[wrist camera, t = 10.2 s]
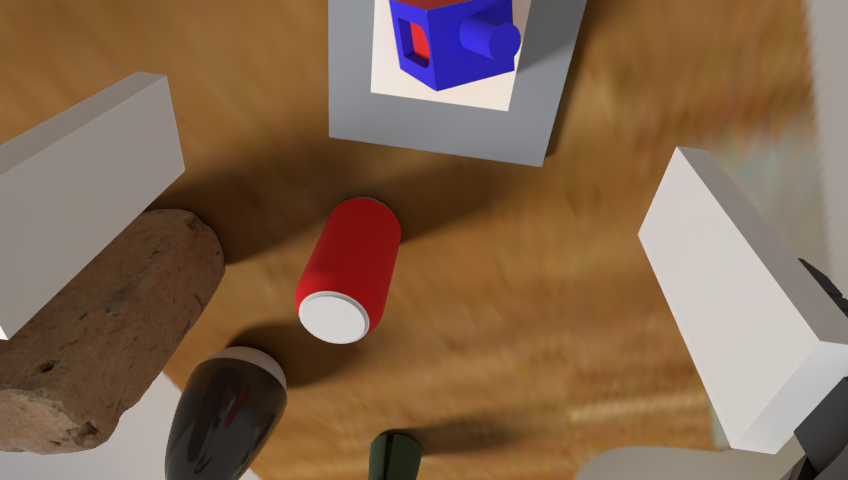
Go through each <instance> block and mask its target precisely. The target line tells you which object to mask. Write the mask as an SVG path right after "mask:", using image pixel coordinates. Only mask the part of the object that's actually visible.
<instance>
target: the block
mask: <svg viewBox="0 0 848 480" xmlns="http://www.w3.org/2000/svg"><path fill="white" fill-rule="evenodd" d="M224 273H225V262H224V257H223V251H222V248H221V245H220V242H219V240H218V238H217V236H216V234H215V232H214V231H213V230H212V228H211V227H209V226H207V225H205V224H204V223H203V222H202V221H201V220H199V219H198V217H197V216H196V215H195V214H193V213H192V212H189V211H186V210H181V209H158V210H152V211H148V212H144V213H141V214H139V215H138V216H137V217H136V218H135V219H134V220H133V221H132V222H131V223H130V224H129V225H128V226H127V227H126V228H125V229H124V230H123V231H122V232H120V233H119V234H118V235H117V236H116V237H115V238H114V239H113V240H112V241H111V242H110V243H109V244H108V245H107V246H106V247H105V248H104V249H103V250H102V251H101V252H100V253H99V254H98V255H96V256H95V257H94V258H93V259H92V260H91V261H90V262H89V263H88V264H87V265H86V266H85V267H84V268H83V269H82V270H81V271H80V272H79V273H78V274H77V275H76V276H75V277H74V278H73V279H71V280H70V281H69V282H68V283H67V284H66V285H65V286H64V287H63V288H62V289H61V290H60V291H59V292H58V293H57V294H56V295H55V296H54V297H53V298H52V299H51V300H50V301H49V302H47V303H46V304H45V305H44V306H43V307H42V308H41V309H40V310H39V311H38V312H37V313H36V314H35V315H34V316H33V317H32V318H31V319H30V320H29V321H28V322H27V323H26V324H25V325H23V326H22V327H21V328H20V329H19V330H18V331H17V332H16V333H15V334H14V335H13V336H12V337H11V338H10V339H9V340H4V339H0V451H5V452H25V451H28V452H32V453H36V454H41V455H46V454H59V453H71V452H79V451H84V450H88V449H93V448H96V447H97V446H99V445H101V444H103V443H104V442H106V441H107V440H108V439H109V437H110V436H111V435H112V433H113V432H114V430H115V428H116V426H117V424H118V422H119V418H120V416H121V415H122V414H123V412H124V411H126V410H128V409H129V408H131V407H132V406H134V405H135V404H136V403H137V402H138V401H139V400H140V399H141V397H142V396H143V394H144V393H145V392H146V390H147V389H148V388H149V387H150V385H151V384H152V382H153V381H154V380H155V379H156V377H157V376H158V375H159V374H160V372H161V371H162V369H163V368H164V367H165V365H166V364H167V362H168V361H169V359H170V358H171V357H172V355H173V354H174V352H175V351H176V349H177V348H178V346H179V345H180V343H181V342H182V340H183V338H184V336H185V335H186V334H187V333H188V331H189V330H190V329H191V328H192V327H193V326H194V324H195V323H196V321H197V320H198V318H199V317H200V315H201V314H202V312H203V311H204V309H205V308H206V306H207V304H208V303H209V301H210V300H211V298H212V296H213V295H214V293H215V291H216V289H217V287H218V286H219V284H220V281H221V279H222V277H223V275H224Z"/></svg>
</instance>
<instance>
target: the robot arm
mask: <svg viewBox="0 0 848 480" xmlns="http://www.w3.org/2000/svg"><path fill="white" fill-rule="evenodd" d="M184 171H185V167H184V162H183V157H182V152H181V147H180V141H179V136H178V131H177V126H176V121H175V116H174V111H173V106H172V101H171V96H170V91H169V85H168V80H167V75H160V74H153V73H146V72H138V71H137V72H135V73H133V74H131V75H130V76H128V77H126V78H124V79H122V80H120V81H119V82H117V83H115V84H113V85H111V86H109V87H107V88H106V89H104V90H102V91H100V92H98V93H96V94H94V95H93V96H91V97H89V98H87V99H85V100H83V101H82V102H80V103H78V104H76V105H74V106H72V107H70V108H69V109H67V110H65V111H63V112H61V113H59V114H57V115H56V116H54V117H52V118H50V119H48V120H46V121H44V122H43V123H41V124H39V125H37V126H35V127H33V128H32V129H30V130H28V131H26V132H24V133H22V134H20V135H19V136H17V137H15V138H13V139H11V140H9V141H7V142H6V143H4V144H2V145H0V339H4V340H9V339H10V338H11V337H12V336H13V335H14V334H15V333H16V332H17V331H18V330H19V329H20V328H21V327H22V326H23V325H25V324H26V323H27V322H28V321H29V320H30V319H31V318H32V317H33V316H34V315H35V314H36V313H37V312H38V311H39V310H40V309H41V308H42V307H43V306H44V305H45V304H46V303H47V302H49V301H50V300H51V299H52V298H53V297H54V296H55V295H56V294H57V293H58V292H59V291H60V290H61V289H62V288H63V287H64V286H65V285H66V284H67V283H68V282H69V281H70V280H71V279H73V278H74V277H75V276H76V275H77V274H78V273H79V272H80V271H81V270H82V269H83V268H84V267H85V266H86V265H87V264H88V263H89V262H90V261H91V260H92V259H93V258H94V257H95V256H96V255H98V254H99V253H100V252H101V251H102V250H103V249H104V248H105V247H106V246H107V245H108V244H109V243H110V242H111V241H112V240H113V239H114V238H115V237H116V236H117V235H118V234H119V233H120V232H122V231H123V230H124V229H125V228H126V227H127V226H128V225H129V224H130V223H131V222H132V221H133V220H134V219H135V218H136V217H137V216H138V215H139V214H140V213H141V212H142V211H143V210H144V209H146V208H147V207H148V206H149V205H150V204H151V203H152V202H153V201H154V200H155V199H156V198H157V197H158V196H159V195H160V194H161V193H162V192H163V191H164V190H165V189H166V188H167V187H168V186H169V185H171V184H172V183H173V182H174V181H175V180H176V179H177V178H178V177H179V176H180V175H181V174H182V173H183V172H184ZM638 236H639V238H640V241H641V243H642V245H643V247H644V250H645V252H646V254H647V257H648V259H649V261H650V263H651V266H652V268H653V270H654V273H655V275H656V277H657V279H658V282H659V284H660V286H661V288H662V291H663V293H664V295H665V298H666V300H667V302H668V304H669V307H670V309H671V311H672V313H673V316H674V318H675V320H676V323H677V325H678V327H679V329H680V332H681V334H682V336H683V338H684V341H685V343H686V345H687V348H688V350H689V352H690V354H691V357H692V359H693V361H694V364H695V366H696V368H697V370H698V373H699V375H700V377H701V379H702V382H703V384H704V386H705V389H706V391H707V393H708V395H709V398H710V400H711V402H712V404H713V407H714V409H715V411H716V414H717V416H718V418H719V420H720V423H721V425H722V427H723V429H724V432H725V434H726V436H727V439H728V441H729V443H730V445H731V448H736V449H742V450H749V451H756V452H763V453H769V454H776V453H777V452H778V451H779V449H780V448H781V447H782V446H783V445H784V444H785V443H786V442H787V441H788V440H789V439H790V437H792V435H793V434H795V435H796V437H797V439H798V441H799V443H800V444H801V446H802V448H803V450H804V451H805V453H806V454H805V455H804V456H803V457H802V458H801V459H800V460H799V461H798V462H797V463H796V464H795V465H794V466H793V467H792V468H791V469H790V470H789V471H788V472H787V473H786V475H784V476H783V477H782V478H781V479H780V480H848V300H847V299H846V298H842V294H841V292H840V291H839V290H838V289H837V288H836V287H835V285H834V284H833V283H832V282H831V281H830V280H829V279H828V277H827V276H825V275H824V274H823V273H821V272H820V271H819V270H817V269H816V268H814V267H813V266H812V265H810V264H809V263H807V262H806V261H805V260H803V259H799V258H797V257H796V256H795V255H794V254H793V252H792V251H791V250H790V249H789V248H788V246H787V245H786V244H785V243H784V242H783V240H782V239H781V238H780V237H779V236H778V234H777V233H776V232H775V231H774V230H773V229H772V227H771V226H770V225H769V224H768V223H767V221H766V220H765V219H764V218H763V217H762V215H761V214H760V213H759V212H758V211H757V209H756V208H755V207H754V206H753V205H752V203H751V202H750V201H749V200H748V199H747V198H746V196H745V195H744V194H743V193H742V192H741V190H740V189H739V188H738V187H737V186H736V184H735V183H734V182H733V181H732V180H731V178H730V177H729V176H728V175H727V174H726V172H725V171H724V170H723V169H722V168H721V166H720V165H719V164H718V163H717V162H716V161H715V159H714V158H713V157H712V156H711V155H710V153H709V152H708V151H707V150H700V149H693V148H686V147H679V146H677V147H676V149H675V151H674V154H673V156H672V158H671V160H670V163H669V165H668V167H667V170H666V172H665V174H664V176H663V179H662V181H661V183H660V185H659V188H658V190H657V192H656V195H655V197H654V199H653V201H652V204H651V206H650V208H649V211H648V213H647V215H646V217H645V220H644V222H643V224H642V227H641V229H640V231H639V233H638Z"/></svg>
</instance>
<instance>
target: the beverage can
mask: <svg viewBox="0 0 848 480" xmlns="http://www.w3.org/2000/svg"><path fill="white" fill-rule="evenodd" d="M400 239H401V228H400V224H399V222H398V220H397V218H396V216H395V215H394V213H393V212H392V211H391V210H390V209H389V208H388V207H387V206H386V205H385V204H383V203H381V202H379V201H377V200H375V199H372V198H368V197H354V198H349V199H347V200H345V201H343V202H341V203H340V204H339V205H338V206H337V207H336V208H335V209H334V210H333V211H332V213H331V215H330V217H329V219H328V221H327V223H326V225H325V228H324V230H323V232H322V234H321V236H320V238H319V240H318V242H317V245H316V247H315V249H314V251H313V253H312V255H311V257H310V260H309V262H308V264H307V266H306V268H305V270H304V272H303V274H302V277H301V279H300V281H299V283H298V285H297V288H296V292H295V305H296V309H297V312H298V316H299V319H300V321H301V323H302V325H303V326H304V327H305V329H306V330H307V331H308V332H309V333H311V334H312V335H313V336H315V337H317V338H318V339H321V340H323V341H326V342H329V343H334V344H349V343H353V342H356V341H358V340H360V339H361V338H363V337H364V336H366V335H367V334H368V333H370V332H371V331H372V330H373V329H374V328H375V327H376V326H377V325H378V323H379V322H380V320H381V318H382V315H383V311H384V307H385V303H386V299H387V294H388V290H389V286H390V282H391V278H392V273H393V269H394V265H395V261H396V256H397V252H398V248H399V244H400Z"/></svg>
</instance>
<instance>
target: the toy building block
mask: <svg viewBox="0 0 848 480" xmlns="http://www.w3.org/2000/svg"><path fill="white" fill-rule="evenodd" d="M389 4H390V10H391V16H392V23H393V29H394V35H395V41H396V47H397V53H398V59H399V65H400V69H401V70H403V71H404V72H406V73H407V74H409V75H411V76H412V77H414V78H415V79H417V80H419V81H420V82H422V83H423V84H425V85H427V86H428V87H430V88H431V89H433V90H435V91H436V92H438V91H441V90H445V89H449V88H453V87H456V86H460V85H464V84H467V83H471V82H475V81H479V80H482V79H486V78H490V77H493V76H497V75H501V74H505V73H508V72H512V71H515V64H514V56H515V55H516V54H517V52H518V51H519V49H520V45H521V34H520V32H519V29H518V28H517V27H516V26H515V25H513V11H512V0H389Z"/></svg>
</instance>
